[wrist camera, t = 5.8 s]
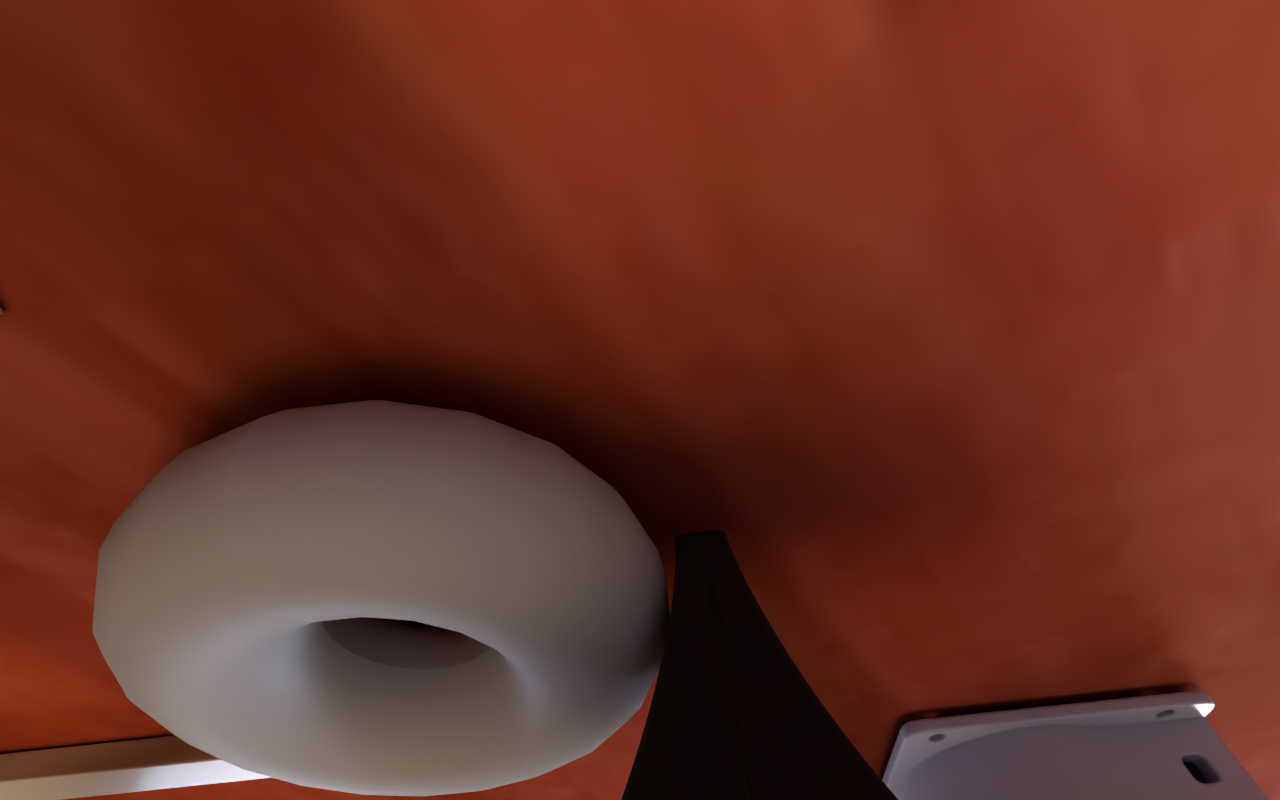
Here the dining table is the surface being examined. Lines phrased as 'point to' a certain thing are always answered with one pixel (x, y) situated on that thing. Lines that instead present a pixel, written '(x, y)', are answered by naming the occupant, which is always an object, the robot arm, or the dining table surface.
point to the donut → (382, 601)
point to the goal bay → (112, 769)
